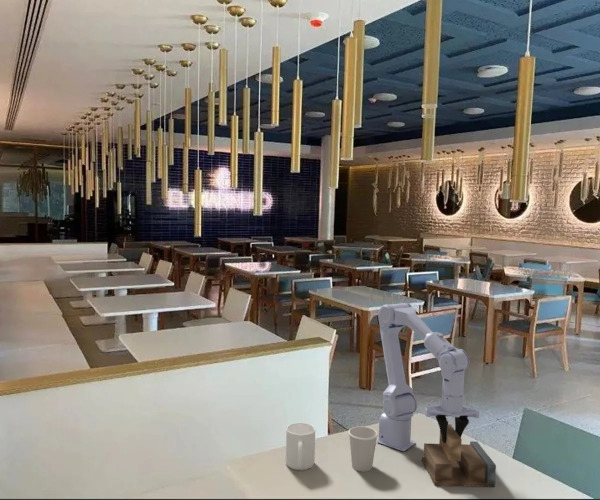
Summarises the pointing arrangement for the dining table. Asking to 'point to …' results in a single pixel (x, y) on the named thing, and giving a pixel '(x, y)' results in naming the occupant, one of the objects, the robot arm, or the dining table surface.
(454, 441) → the tall tan pillar
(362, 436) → the dixie cup
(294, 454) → the mug
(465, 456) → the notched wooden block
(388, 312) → the robot arm
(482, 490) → the dining table surface
